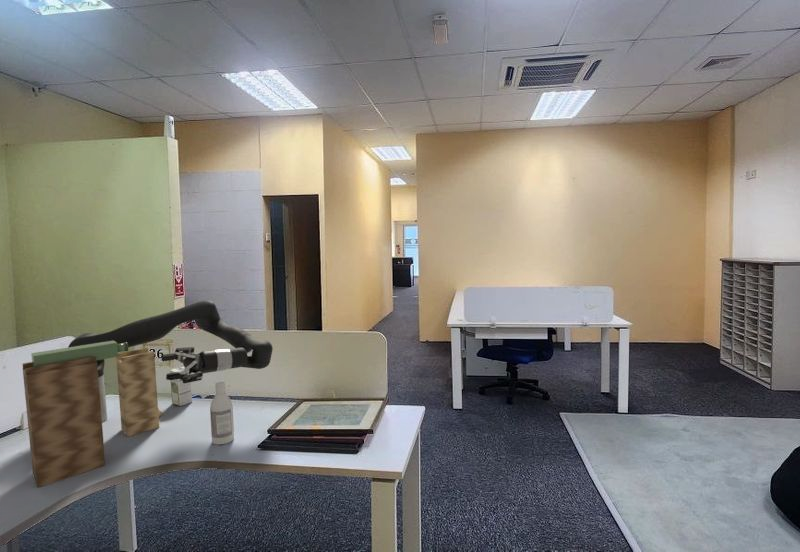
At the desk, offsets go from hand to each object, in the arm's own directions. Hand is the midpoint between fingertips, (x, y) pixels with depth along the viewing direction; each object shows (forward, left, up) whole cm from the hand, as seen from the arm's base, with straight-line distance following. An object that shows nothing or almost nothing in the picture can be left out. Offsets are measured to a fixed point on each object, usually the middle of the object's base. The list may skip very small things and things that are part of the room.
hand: (164, 367), depth 142 cm
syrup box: (-28, +27, -27) cm, 47 cm away
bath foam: (+14, +9, -27) cm, 32 cm away
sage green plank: (-12, -17, +6) cm, 22 cm away
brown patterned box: (-14, -23, -26) cm, 37 cm away
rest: (-21, +4, -26) cm, 34 cm away
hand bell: (-28, +13, -27) cm, 41 cm away
